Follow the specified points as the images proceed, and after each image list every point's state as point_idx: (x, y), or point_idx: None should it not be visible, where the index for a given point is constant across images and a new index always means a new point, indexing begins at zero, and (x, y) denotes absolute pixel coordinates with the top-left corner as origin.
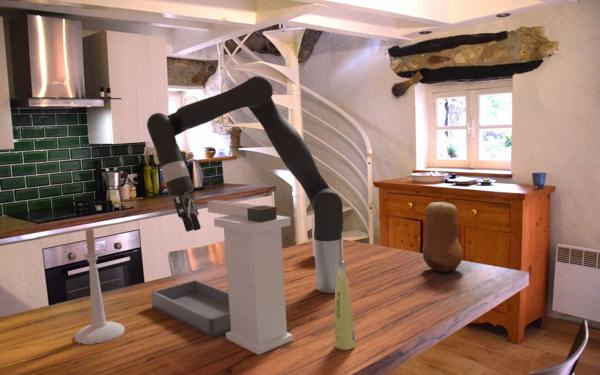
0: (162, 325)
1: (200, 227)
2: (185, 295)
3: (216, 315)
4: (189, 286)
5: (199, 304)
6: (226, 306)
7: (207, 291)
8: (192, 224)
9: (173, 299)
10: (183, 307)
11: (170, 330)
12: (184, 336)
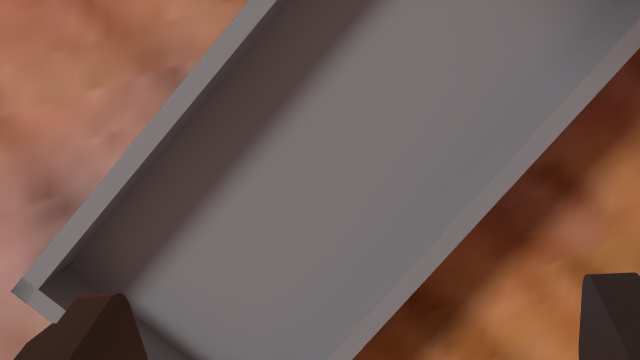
0: (489, 278)
1: (97, 296)
2: None
3: (420, 33)
4: None
5: (259, 179)
6: (289, 15)
7: (140, 172)
8: (618, 327)
9: (185, 348)
10: (505, 192)
11: (549, 218)
12: (620, 127)
